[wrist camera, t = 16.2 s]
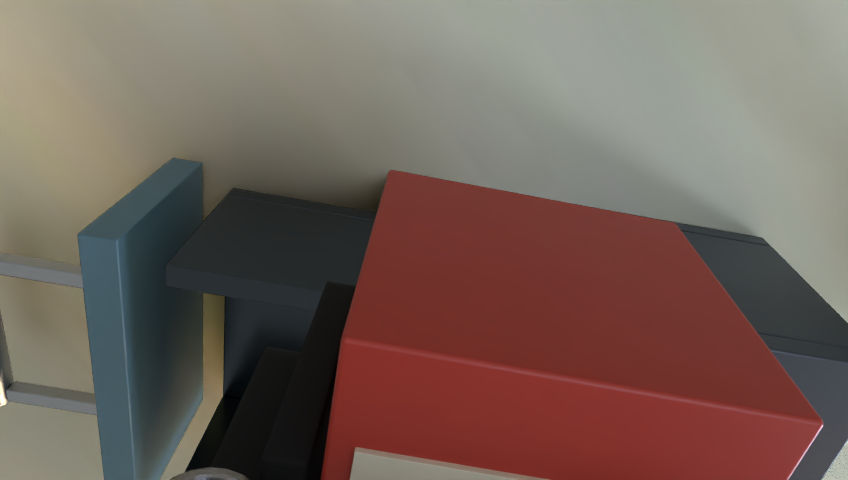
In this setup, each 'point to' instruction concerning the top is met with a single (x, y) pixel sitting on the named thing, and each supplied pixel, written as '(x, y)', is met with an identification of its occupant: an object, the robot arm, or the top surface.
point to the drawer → (186, 306)
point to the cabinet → (787, 330)
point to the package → (549, 350)
